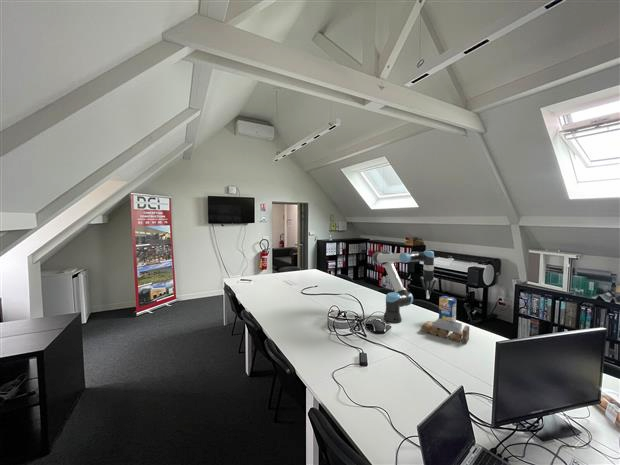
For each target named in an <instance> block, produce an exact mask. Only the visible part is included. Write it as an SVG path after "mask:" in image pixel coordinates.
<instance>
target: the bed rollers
mask: <svg viewBox="0 0 620 465" xmlns="http://www.w3.org/2000/svg"><path fill="white" fill-rule="evenodd" d="M421 331H422V333H424V334H428V333H430V335H431V336H437V335H438V337H439V338H442V339H445V338H447V337H448V335H449V334H450V333H451V331H448V330H444V329H440V328H437V327H435V323H433V322H432V321H430V320H428V321H426V322H424V324H423V325H422V326H421Z"/></svg>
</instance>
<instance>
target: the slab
mask: <svg viewBox="0 0 620 465" xmlns="http://www.w3.org/2000/svg"><path fill="white" fill-rule="evenodd" d="M434 324H435V327H437V328H440V329H444V330H448V331H450V332H451V333H453V332H455V333H459V332H460V330H463V329H462V326H463V325H462V324H463V323H461V322H453V321H449V320H445V319H441V318H439V317H438V318H437V319H436V320H434Z"/></svg>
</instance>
